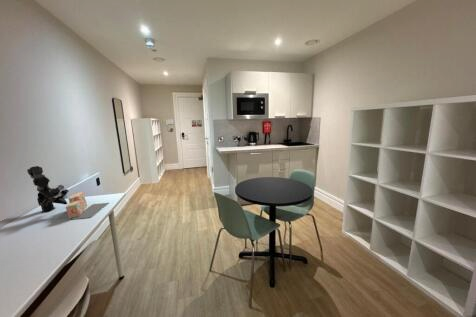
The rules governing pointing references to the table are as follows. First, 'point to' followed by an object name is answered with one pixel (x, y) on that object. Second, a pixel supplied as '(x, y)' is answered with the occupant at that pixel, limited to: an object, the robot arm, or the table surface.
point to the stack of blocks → (76, 205)
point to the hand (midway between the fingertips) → (66, 203)
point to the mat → (91, 211)
